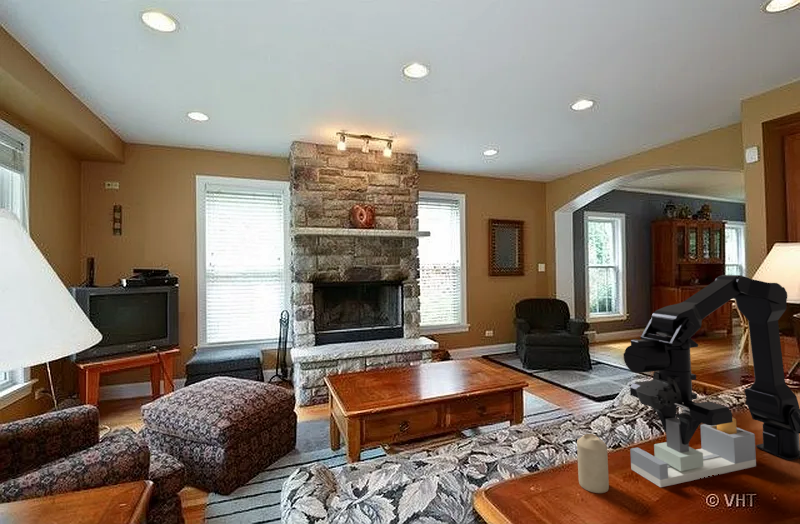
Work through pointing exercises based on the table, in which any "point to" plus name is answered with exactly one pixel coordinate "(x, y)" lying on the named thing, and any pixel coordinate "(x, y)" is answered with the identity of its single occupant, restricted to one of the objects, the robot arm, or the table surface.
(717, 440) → the rail
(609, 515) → the table surface
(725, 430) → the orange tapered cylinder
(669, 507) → the table surface
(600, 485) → the candle
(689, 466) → the carriage
